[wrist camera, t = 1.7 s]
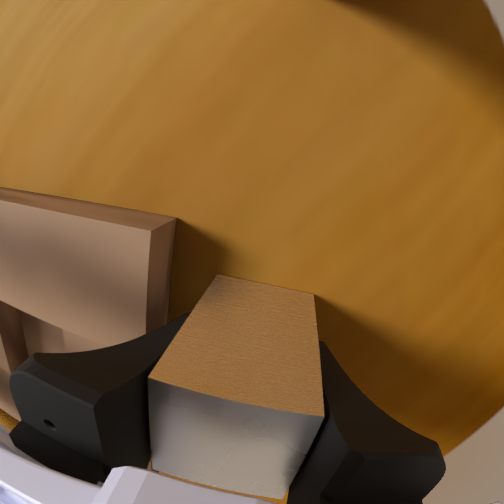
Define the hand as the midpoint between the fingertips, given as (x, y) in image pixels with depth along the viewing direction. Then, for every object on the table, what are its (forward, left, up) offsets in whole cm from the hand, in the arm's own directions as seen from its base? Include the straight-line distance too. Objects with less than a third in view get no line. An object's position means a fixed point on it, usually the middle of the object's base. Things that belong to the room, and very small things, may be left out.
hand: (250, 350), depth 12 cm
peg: (0, 0, -2) cm, 2 cm away
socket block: (-4, +11, -2) cm, 12 cm away
